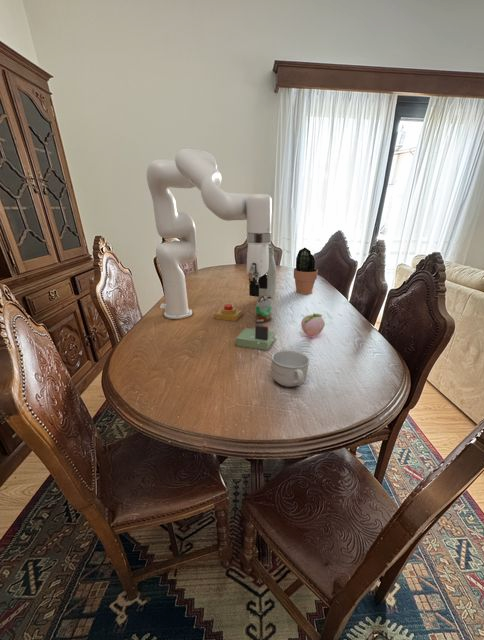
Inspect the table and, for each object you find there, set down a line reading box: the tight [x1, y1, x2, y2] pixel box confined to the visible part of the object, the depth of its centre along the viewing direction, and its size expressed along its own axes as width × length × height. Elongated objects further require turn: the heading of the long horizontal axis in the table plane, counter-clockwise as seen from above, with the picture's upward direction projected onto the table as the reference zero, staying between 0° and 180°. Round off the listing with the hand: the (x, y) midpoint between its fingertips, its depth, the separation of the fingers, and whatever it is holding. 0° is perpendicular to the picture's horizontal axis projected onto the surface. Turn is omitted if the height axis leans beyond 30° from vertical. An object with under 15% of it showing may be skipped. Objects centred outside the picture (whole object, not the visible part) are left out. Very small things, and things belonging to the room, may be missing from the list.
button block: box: [214, 305, 243, 322], centre depth 130 cm, size 10×8×4 cm
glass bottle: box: [257, 244, 277, 300], centre depth 146 cm, size 10×10×28 cm
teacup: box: [270, 349, 310, 388], centre depth 82 cm, size 14×11×8 cm
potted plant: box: [293, 247, 319, 295], centre depth 162 cm, size 14×14×25 cm
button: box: [223, 303, 233, 310], centre depth 129 cm, size 4×4×2 cm
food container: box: [255, 294, 274, 324], centre depth 126 cm, size 12×6×10 cm, turn 168°
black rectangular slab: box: [254, 324, 269, 340], centre depth 102 cm, size 4×1×5 cm, turn 73°
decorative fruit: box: [300, 313, 326, 337], centre depth 111 cm, size 9×8×10 cm
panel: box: [235, 327, 276, 351], centre depth 106 cm, size 13×12×3 cm
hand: (258, 292), depth 98 cm, fingers open, 9 cm apart
